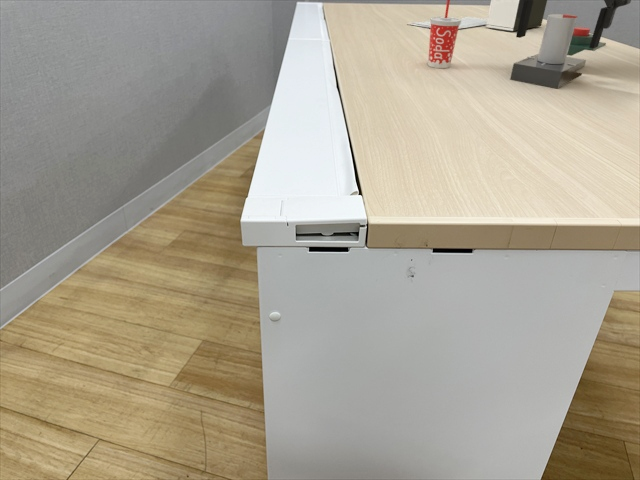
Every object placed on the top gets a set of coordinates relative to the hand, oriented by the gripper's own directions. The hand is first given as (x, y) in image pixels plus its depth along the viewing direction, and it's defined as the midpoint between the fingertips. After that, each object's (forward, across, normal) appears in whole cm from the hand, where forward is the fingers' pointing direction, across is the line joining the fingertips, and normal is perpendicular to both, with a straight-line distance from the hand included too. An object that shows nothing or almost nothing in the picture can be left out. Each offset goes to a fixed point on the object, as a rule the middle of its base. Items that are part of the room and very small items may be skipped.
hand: (555, 42), depth 92 cm
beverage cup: (+7, -20, -7) cm, 22 cm away
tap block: (+7, 0, 0) cm, 7 cm away
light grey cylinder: (+3, 0, 0) cm, 3 cm away
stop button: (+3, -4, +30) cm, 30 cm away
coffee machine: (+7, -39, +48) cm, 62 cm away
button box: (+7, -4, +30) cm, 31 cm away
